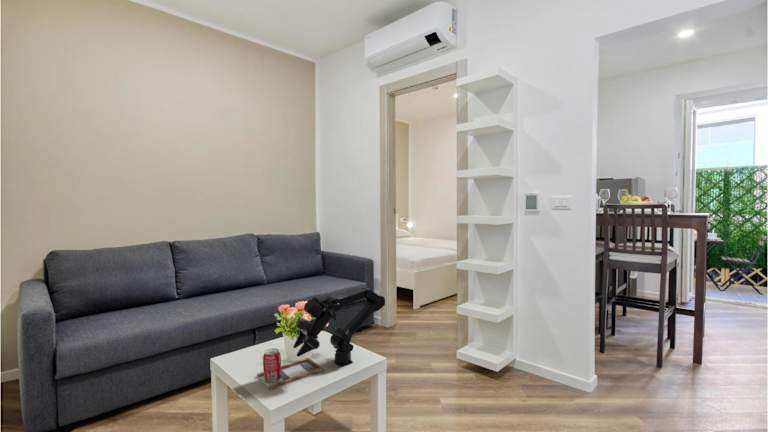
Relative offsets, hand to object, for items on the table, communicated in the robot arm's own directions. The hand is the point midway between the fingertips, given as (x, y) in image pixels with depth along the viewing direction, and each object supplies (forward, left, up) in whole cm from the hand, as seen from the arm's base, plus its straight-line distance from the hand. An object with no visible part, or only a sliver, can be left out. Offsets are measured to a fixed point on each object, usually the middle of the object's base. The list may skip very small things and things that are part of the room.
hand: (295, 351), depth 156 cm
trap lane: (+1, -3, -10) cm, 11 cm away
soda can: (+10, -2, -10) cm, 14 cm away
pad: (+10, -3, -10) cm, 14 cm away
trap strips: (-1, -3, -10) cm, 11 cm away
